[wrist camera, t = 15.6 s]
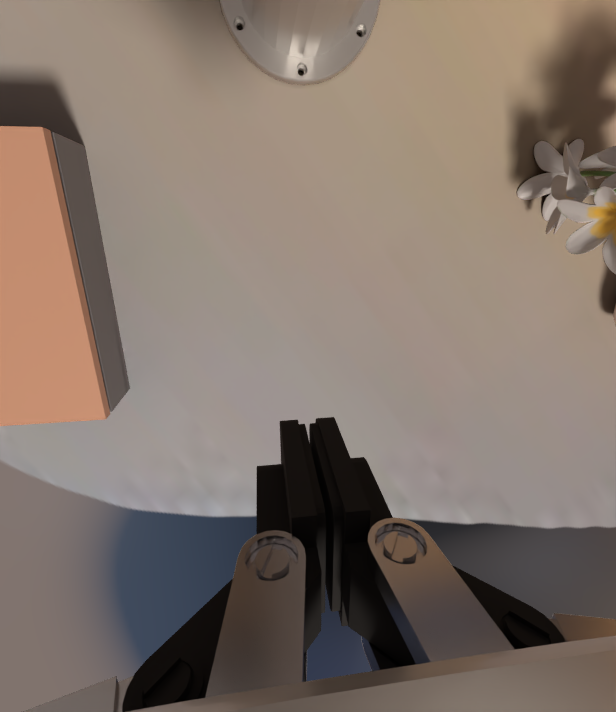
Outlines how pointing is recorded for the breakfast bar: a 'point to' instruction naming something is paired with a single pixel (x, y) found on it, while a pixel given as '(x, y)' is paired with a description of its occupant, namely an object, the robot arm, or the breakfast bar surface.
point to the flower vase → (577, 196)
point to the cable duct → (92, 264)
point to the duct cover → (42, 293)
